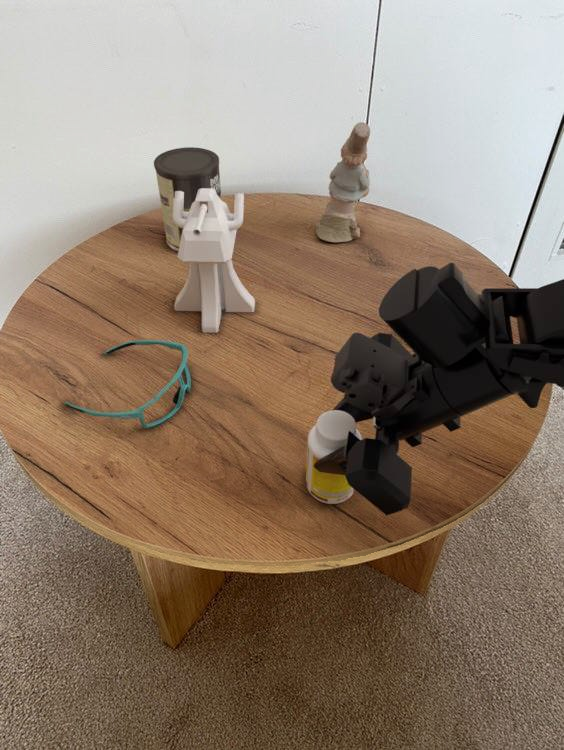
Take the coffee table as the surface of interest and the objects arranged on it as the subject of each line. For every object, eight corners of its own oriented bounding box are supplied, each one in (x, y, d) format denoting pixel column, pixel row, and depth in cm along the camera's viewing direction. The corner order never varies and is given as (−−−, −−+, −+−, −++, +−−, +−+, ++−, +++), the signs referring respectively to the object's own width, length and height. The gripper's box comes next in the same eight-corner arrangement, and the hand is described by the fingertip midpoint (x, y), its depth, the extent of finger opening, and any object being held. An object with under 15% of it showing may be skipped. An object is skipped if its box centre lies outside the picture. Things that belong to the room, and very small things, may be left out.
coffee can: (235, 231, 104) (230, 153, 94) (206, 260, 97) (197, 179, 87) (186, 218, 107) (176, 142, 97) (154, 245, 100) (140, 166, 90)
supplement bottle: (364, 497, 63) (374, 437, 56) (317, 512, 62) (321, 453, 55) (343, 459, 67) (350, 398, 60) (298, 472, 66) (300, 411, 59)
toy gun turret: (167, 336, 83) (146, 223, 70) (182, 282, 92) (166, 173, 80) (251, 338, 82) (245, 224, 70) (257, 283, 92) (253, 175, 79)
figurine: (357, 249, 99) (370, 131, 85) (310, 241, 101) (314, 124, 87) (368, 224, 105) (381, 109, 91) (323, 216, 107) (329, 103, 93)
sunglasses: (166, 443, 69) (156, 414, 65) (60, 423, 73) (45, 395, 70) (211, 365, 78) (204, 336, 75) (115, 352, 82) (104, 324, 79)
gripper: (400, 264, 54) (284, 338, 64) (386, 408, 41) (242, 476, 50) (468, 338, 59) (350, 398, 68) (475, 491, 46) (328, 539, 55)
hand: (321, 445), depth 60 cm, fingers closed on supplement bottle, 5 cm apart
